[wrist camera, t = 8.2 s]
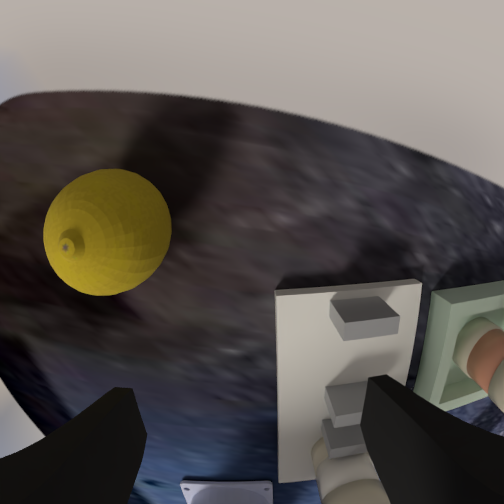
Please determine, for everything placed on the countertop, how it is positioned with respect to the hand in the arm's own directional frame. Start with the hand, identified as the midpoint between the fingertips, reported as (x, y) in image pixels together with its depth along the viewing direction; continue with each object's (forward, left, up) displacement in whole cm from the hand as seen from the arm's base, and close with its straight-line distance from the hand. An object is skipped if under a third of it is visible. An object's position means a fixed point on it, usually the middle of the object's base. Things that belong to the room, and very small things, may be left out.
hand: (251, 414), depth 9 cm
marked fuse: (-5, -17, -9) cm, 20 cm away
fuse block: (-8, -6, -10) cm, 14 cm away
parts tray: (-5, -17, -10) cm, 20 cm away
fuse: (-12, -6, -9) cm, 16 cm away
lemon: (+5, +6, -10) cm, 13 cm away
